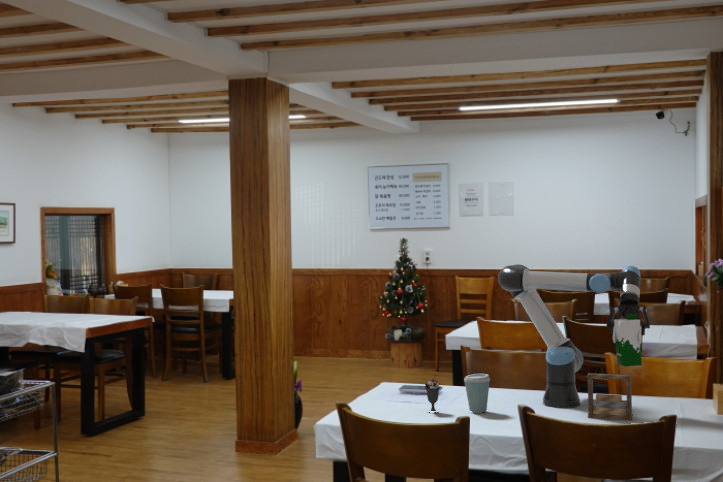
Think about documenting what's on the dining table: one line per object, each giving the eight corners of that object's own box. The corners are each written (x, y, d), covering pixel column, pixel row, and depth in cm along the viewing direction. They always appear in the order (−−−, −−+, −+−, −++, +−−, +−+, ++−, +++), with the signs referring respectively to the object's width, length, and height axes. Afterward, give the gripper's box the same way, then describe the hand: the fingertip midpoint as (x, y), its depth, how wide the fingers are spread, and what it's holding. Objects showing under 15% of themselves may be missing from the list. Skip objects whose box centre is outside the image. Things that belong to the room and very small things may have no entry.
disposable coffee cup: (474, 415, 303) (474, 377, 304) (459, 411, 313) (458, 374, 313) (496, 412, 308) (495, 375, 309) (480, 408, 318) (479, 372, 318)
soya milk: (645, 365, 300) (641, 314, 301) (622, 367, 300) (619, 315, 300) (636, 362, 309) (632, 313, 309) (614, 363, 308) (610, 314, 309)
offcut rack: (588, 417, 296) (587, 374, 296) (590, 414, 301) (589, 372, 302) (631, 420, 289) (630, 376, 289) (633, 417, 295) (632, 374, 295)
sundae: (442, 410, 314) (442, 374, 315) (439, 414, 308) (438, 376, 308) (427, 410, 316) (426, 373, 317) (423, 413, 310) (422, 376, 310)
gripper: (658, 303, 314) (657, 347, 299) (603, 304, 323) (600, 346, 309) (656, 291, 309) (655, 334, 295) (601, 292, 319) (597, 335, 304)
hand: (627, 340), depth 302 cm, fingers closed on soya milk, 9 cm apart
